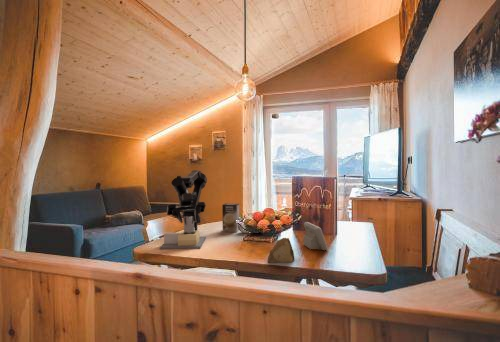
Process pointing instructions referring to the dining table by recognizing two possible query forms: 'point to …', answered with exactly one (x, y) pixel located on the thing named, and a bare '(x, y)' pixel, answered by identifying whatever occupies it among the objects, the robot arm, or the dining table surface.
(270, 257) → the rock
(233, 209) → the coffee box
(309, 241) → the grey angular slab
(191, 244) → the grey plate with frame
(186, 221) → the hinge pin
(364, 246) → the dining table surface
